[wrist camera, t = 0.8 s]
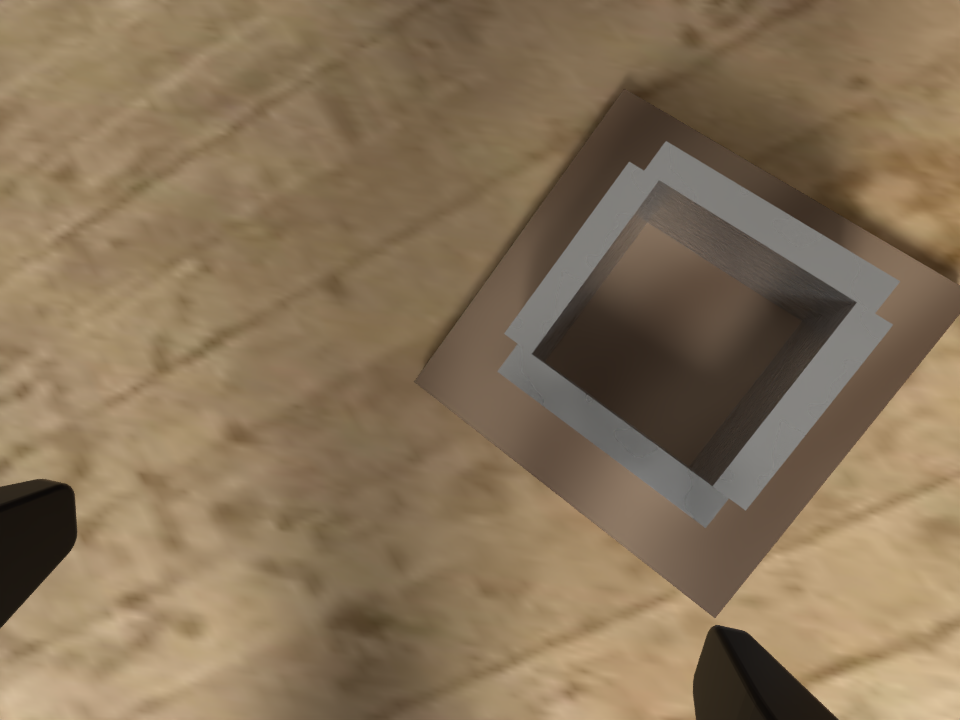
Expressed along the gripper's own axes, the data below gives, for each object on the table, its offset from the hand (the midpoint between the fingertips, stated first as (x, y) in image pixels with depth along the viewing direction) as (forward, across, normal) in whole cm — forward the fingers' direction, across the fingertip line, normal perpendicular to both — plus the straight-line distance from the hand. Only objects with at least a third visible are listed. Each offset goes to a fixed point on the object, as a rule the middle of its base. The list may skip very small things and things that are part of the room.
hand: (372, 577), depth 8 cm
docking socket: (+14, -6, -1) cm, 15 cm away
